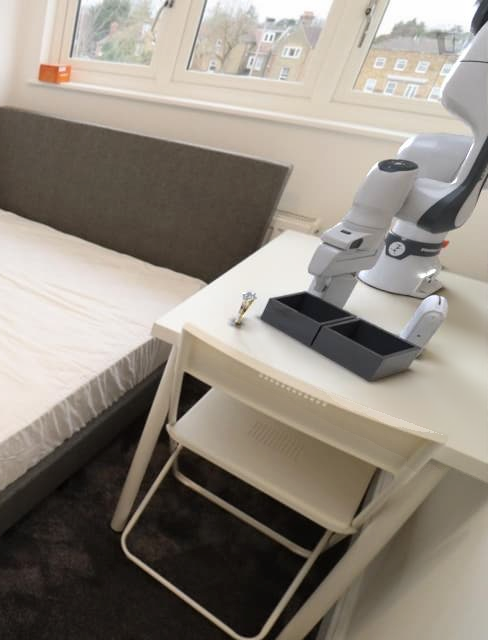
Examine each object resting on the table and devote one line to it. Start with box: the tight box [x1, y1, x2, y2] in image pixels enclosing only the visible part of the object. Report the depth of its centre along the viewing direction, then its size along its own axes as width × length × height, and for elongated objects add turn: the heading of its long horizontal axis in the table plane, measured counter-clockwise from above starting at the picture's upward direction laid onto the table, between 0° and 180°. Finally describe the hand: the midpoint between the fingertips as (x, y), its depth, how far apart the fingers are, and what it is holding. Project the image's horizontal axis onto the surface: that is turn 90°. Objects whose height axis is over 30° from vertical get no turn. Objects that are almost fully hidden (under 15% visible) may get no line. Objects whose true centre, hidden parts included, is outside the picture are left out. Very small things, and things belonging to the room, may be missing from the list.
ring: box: [234, 290, 258, 324], centre depth 118 cm, size 7×3×8 cm, turn 139°
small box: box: [306, 273, 359, 309], centre depth 125 cm, size 8×6×10 cm
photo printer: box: [399, 294, 449, 358], centre depth 111 cm, size 10×4×12 cm, turn 140°
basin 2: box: [310, 317, 422, 382], centre depth 108 cm, size 13×13×6 cm
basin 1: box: [259, 290, 359, 347], centre depth 118 cm, size 13×13×6 cm
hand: (330, 288), depth 124 cm, fingers closed on small box, 8 cm apart
